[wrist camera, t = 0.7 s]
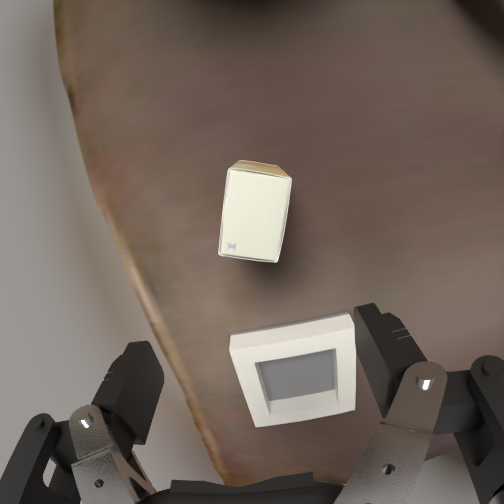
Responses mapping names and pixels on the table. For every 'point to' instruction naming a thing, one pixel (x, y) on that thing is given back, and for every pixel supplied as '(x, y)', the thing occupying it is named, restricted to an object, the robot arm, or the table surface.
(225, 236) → the skincare box
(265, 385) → the holder
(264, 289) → the table surface
